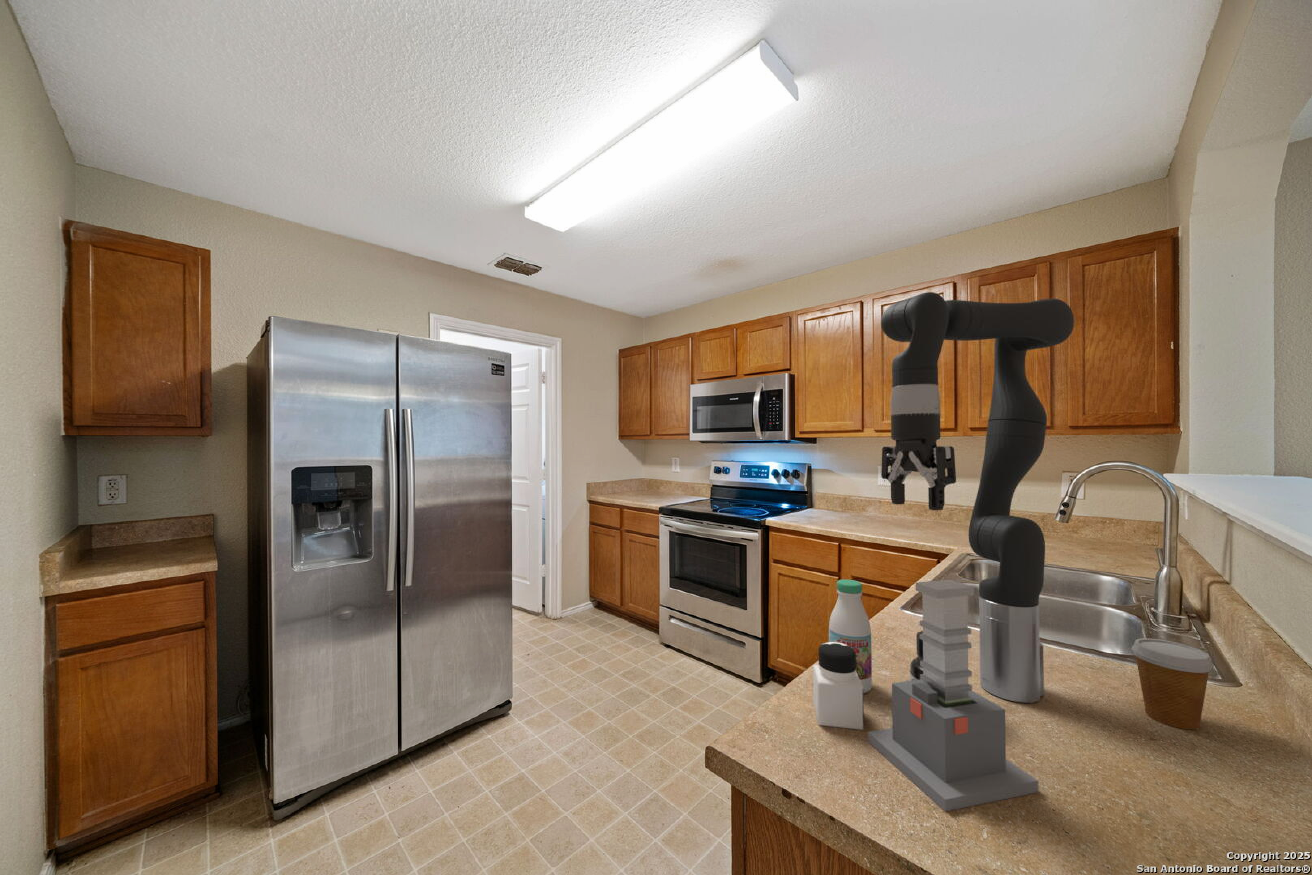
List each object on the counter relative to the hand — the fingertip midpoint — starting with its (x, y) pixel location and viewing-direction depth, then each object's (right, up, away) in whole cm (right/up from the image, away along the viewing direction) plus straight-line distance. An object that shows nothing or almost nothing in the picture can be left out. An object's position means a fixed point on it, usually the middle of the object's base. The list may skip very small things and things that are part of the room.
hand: (916, 506), depth 83 cm
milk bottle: (-7, -37, +11) cm, 39 cm away
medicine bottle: (-14, -36, 0) cm, 39 cm away
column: (-2, -28, -12) cm, 31 cm away
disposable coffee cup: (+43, -36, -1) cm, 56 cm away
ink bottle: (+6, -36, +4) cm, 37 cm away
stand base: (-2, -36, -12) cm, 38 cm away
